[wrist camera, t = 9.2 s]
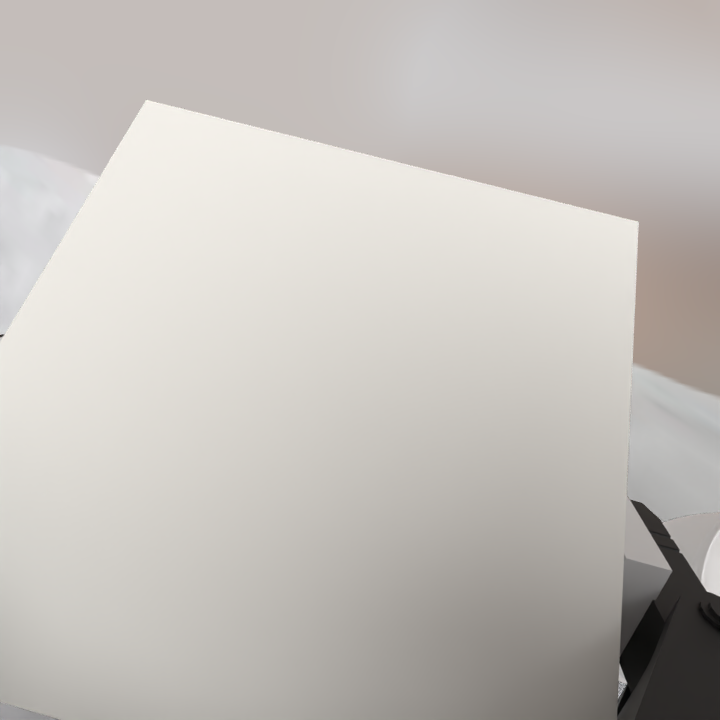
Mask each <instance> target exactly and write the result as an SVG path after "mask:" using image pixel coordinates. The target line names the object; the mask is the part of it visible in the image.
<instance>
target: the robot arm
mask: <svg viewBox="0 0 720 720" xmlns="http://www.w3.org/2000/svg"><path fill="white" fill-rule="evenodd" d="M4 335H5V334H3V335H0V341H1V340H2V338H3V336H4ZM670 537H671V536H670V534H669V533H668V531H667V529H666V528H665V526H664V525H663V523H662V522H661V520H660V519H659V518H658V517H657V516H656V515H654V514H653V513H652V512H651V511H650V510H649V509H648V508H647V507H646V506H645V505H643V504H642V503H640V502H636V501H633V500H630V499H629V497H628V496H627V499H626V522H625V545H624V568H623V591H622V614H621V638H620V661H619V663H620V666H621V669H622V671H623V674H624V677H625V679H626V682H627V685H626V687H625V689H624V690H623V692H622V694H621V695H620V697H619V699H618V707H617V720H720V597H719V596H717V595H715V594H713V593H710V592H707V591H706V589H705V588H704V586H703V585H702V583H701V582H700V580H699V579H698V577H697V576H696V574H695V573H694V571H693V569H692V568H691V566H690V565H689V563H688V562H687V560H686V559H685V557H684V556H683V554H682V553H679V551H680V549H679V548H678V546H677V545H676V543H675V542H674V540H673V539H670Z"/></svg>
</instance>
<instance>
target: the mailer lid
mask: <svg viewBox="0 0 720 720" xmlns="http://www.w3.org/2000/svg"><path fill="white" fill-rule="evenodd" d="M638 223H639V222H637V221H633V220H629V219H625V218H621V217H617V216H613V215H609V214H605V213H601V212H597V211H593V210H589V209H584V208H580V207H577V206H572V205H568V204H564V203H560V202H556V201H552V200H548V199H544V198H540V197H536V196H532V195H528V194H524V193H520V192H516V191H512V190H508V189H504V188H499V187H496V186H492V185H488V184H484V183H480V182H476V181H472V180H468V179H463V178H459V177H455V176H451V175H447V174H443V173H439V172H435V171H431V170H427V169H423V168H419V167H415V166H411V165H407V164H403V163H399V162H395V161H391V160H387V159H383V158H378V157H375V156H371V155H367V154H363V153H359V152H355V151H351V150H347V149H343V148H339V147H335V146H330V145H326V144H322V143H318V142H314V141H310V140H306V139H302V138H298V137H294V136H290V135H286V134H282V133H278V132H274V131H270V130H266V129H262V128H258V127H254V126H250V125H246V124H242V123H238V122H234V121H229V120H226V119H222V118H218V117H214V116H210V115H205V114H201V113H197V112H193V111H189V110H185V109H181V108H177V107H173V106H169V105H165V104H161V103H157V102H153V101H149V100H146V101H145V103H144V105H143V106H142V108H141V110H140V111H139V113H138V114H137V116H136V118H135V119H134V121H133V123H132V124H131V126H130V128H129V129H128V131H127V133H126V135H125V136H124V138H123V139H122V141H121V143H120V144H119V146H118V148H117V149H116V151H115V153H114V154H113V156H112V158H111V159H110V161H109V162H108V164H107V166H106V168H105V169H104V171H103V172H102V174H101V176H100V177H99V179H98V181H97V182H96V184H95V186H94V187H93V189H92V191H91V192H90V194H89V196H88V197H87V199H86V201H85V202H84V204H83V206H82V207H81V209H80V210H79V212H78V214H77V215H76V217H75V219H74V220H73V222H72V224H71V225H70V227H69V229H68V230H67V232H66V234H65V235H64V237H63V239H62V240H61V242H60V244H59V245H58V247H57V249H56V250H55V252H54V254H53V255H52V257H51V259H50V260H49V262H48V263H47V265H46V267H45V268H44V270H43V272H42V273H41V275H40V277H39V278H38V280H37V282H36V283H35V285H34V287H33V288H32V290H31V292H30V293H29V295H28V297H27V298H26V300H25V302H24V303H23V305H22V307H21V308H20V310H19V311H18V313H17V315H16V316H15V318H14V320H13V321H12V323H11V325H10V326H9V328H8V330H7V331H6V333H5V335H4V336H3V338H2V340H1V341H0V702H1V703H5V704H8V705H11V706H15V707H18V708H22V709H25V710H28V711H32V712H35V713H39V714H42V715H45V716H49V717H52V718H55V719H59V720H617V707H618V684H619V661H620V638H621V614H622V591H623V568H624V545H625V522H626V499H627V476H628V453H629V430H630V407H631V384H632V360H633V336H634V315H635V291H636V269H637V246H638Z"/></svg>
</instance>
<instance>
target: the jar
mask: <svg viewBox="0 0 720 720" xmlns="http://www.w3.org/2000/svg"><path fill="white" fill-rule="evenodd" d="M663 525H664V526H665V528H666V529H667V531H668V533H669V534H670V536H671V537H670V539H673V540H674V542H675V543H676V545H677V546H678V548H679V549H680V551H679V553H682V554H683V556H684V557H685V559H686V560H687V562H688V563H689V565H690V566H691V568H692V569H693V571H694V573H695V574H696V576H697V577H698V579H699V580H700V582H701V583H702V585H703V586H704V588H705V589H706V591H707V592H710V593H713V594H715V595H717V596H719V597H720V512H717V513H703V514H695V515H689V516H684V517H679V518H675V519H672V520H669V521H666V522H663ZM619 681H620V682H622V683H625V684H627V682H626V679H625V677H624V674H623V671H622V669H621V666H620V663H619Z"/></svg>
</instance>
